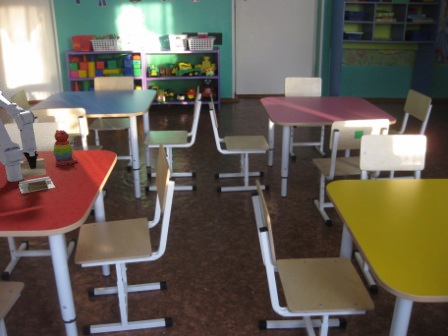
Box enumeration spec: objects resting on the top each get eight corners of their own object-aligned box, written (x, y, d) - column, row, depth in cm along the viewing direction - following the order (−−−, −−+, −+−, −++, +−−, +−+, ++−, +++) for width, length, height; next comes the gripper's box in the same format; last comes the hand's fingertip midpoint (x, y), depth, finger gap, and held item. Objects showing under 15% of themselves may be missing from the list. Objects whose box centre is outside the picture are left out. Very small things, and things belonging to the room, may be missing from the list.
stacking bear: (79, 162, 247) (74, 129, 241) (61, 167, 240) (56, 133, 234) (68, 158, 254) (64, 127, 248) (51, 163, 247) (46, 130, 241)
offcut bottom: (28, 189, 205) (27, 186, 204) (47, 186, 208) (46, 183, 208) (28, 191, 202) (28, 188, 202) (48, 188, 206) (47, 185, 205)
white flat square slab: (18, 186, 212) (17, 181, 212) (50, 181, 219) (49, 175, 218) (22, 196, 201) (21, 190, 200) (55, 189, 207) (54, 184, 206)
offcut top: (28, 186, 204) (28, 183, 204) (45, 183, 208) (44, 180, 207) (29, 188, 202) (29, 185, 201) (46, 185, 205) (45, 182, 205)
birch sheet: (22, 176, 210) (19, 161, 207) (45, 172, 214) (42, 158, 212) (22, 178, 207) (20, 163, 205) (46, 174, 212) (44, 159, 209)
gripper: (16, 136, 209) (21, 165, 214) (20, 143, 197) (25, 173, 202) (33, 134, 213) (37, 162, 217) (37, 141, 201) (42, 170, 205)
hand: (32, 167), depth 209 cm, fingers closed on birch sheet, 3 cm apart
